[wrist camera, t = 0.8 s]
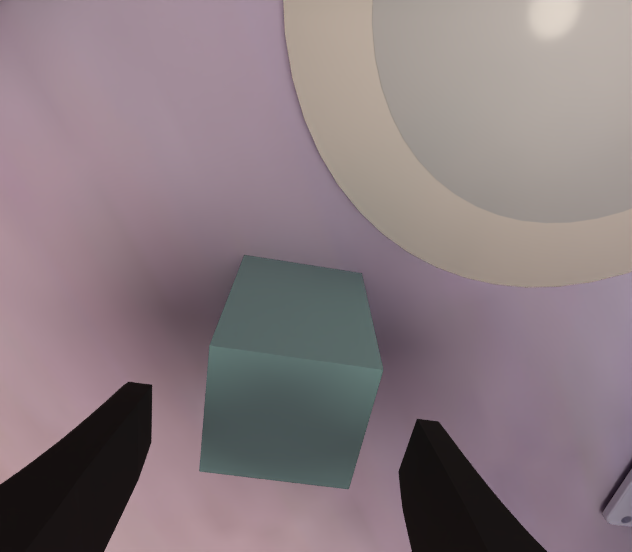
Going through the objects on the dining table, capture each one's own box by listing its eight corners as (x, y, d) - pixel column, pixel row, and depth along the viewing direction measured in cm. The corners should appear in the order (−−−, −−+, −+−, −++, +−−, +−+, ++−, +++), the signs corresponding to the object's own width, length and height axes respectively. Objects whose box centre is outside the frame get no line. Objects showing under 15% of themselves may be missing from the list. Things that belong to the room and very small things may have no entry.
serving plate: (1137, -380, 10) (1211, -421, 9) (704, 309, 17) (723, 321, 17) (352, -619, 9) (356, -691, 8) (253, 237, 16) (249, 247, 15)
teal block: (361, 273, 17) (383, 370, 11) (339, 367, 19) (348, 488, 13) (244, 254, 16) (209, 345, 11) (233, 352, 18) (199, 471, 13)
